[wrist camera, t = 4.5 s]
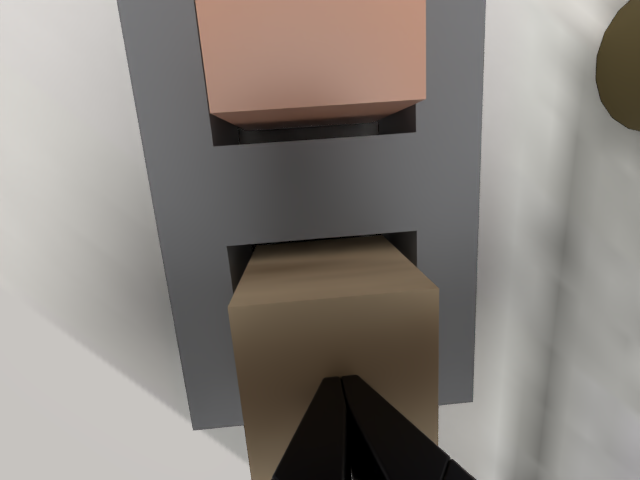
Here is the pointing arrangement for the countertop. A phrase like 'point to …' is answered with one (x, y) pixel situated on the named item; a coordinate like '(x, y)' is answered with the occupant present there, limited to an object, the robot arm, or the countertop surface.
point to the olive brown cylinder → (621, 66)
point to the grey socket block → (306, 190)
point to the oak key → (331, 335)
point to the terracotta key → (312, 60)
